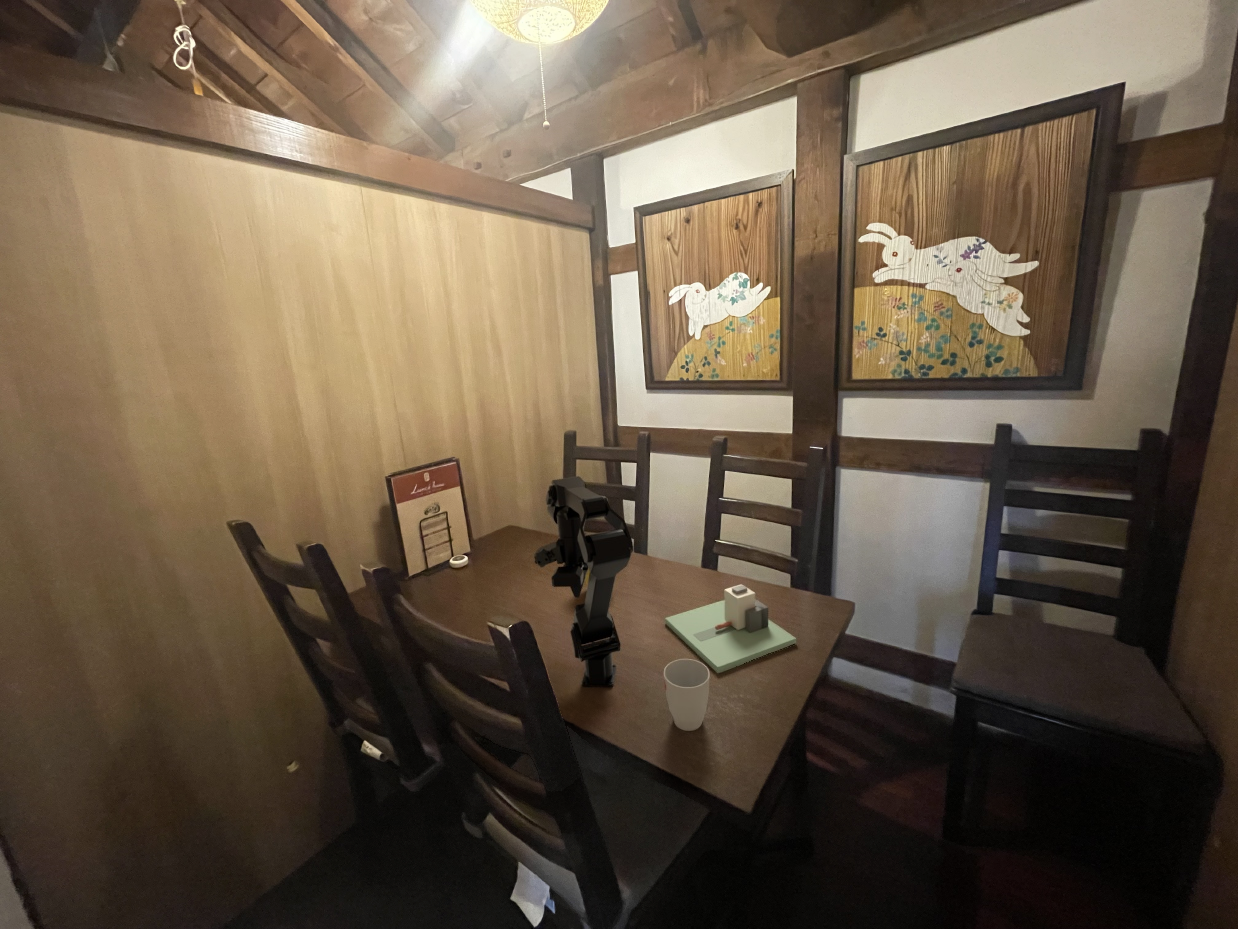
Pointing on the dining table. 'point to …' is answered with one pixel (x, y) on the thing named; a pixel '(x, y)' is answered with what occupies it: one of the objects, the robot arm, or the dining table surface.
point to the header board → (725, 637)
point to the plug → (737, 606)
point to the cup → (687, 692)
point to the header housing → (757, 617)
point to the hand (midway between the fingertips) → (577, 596)
